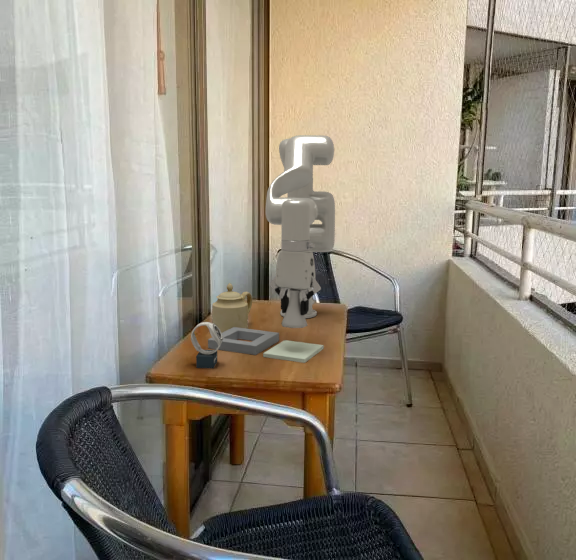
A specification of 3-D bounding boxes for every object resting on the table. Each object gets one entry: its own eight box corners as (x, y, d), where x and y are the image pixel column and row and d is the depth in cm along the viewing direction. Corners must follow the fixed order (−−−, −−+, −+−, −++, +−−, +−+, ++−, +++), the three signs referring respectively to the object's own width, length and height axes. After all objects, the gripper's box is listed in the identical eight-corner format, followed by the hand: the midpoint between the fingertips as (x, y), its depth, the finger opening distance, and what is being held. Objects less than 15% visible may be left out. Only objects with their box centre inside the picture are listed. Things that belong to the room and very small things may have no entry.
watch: (221, 368, 148) (220, 326, 146) (189, 367, 149) (188, 325, 147) (224, 361, 154) (224, 320, 152) (194, 360, 154) (193, 319, 152)
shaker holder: (234, 335, 179) (234, 327, 179) (279, 341, 173) (279, 332, 173) (208, 348, 166) (207, 339, 165) (255, 355, 160) (255, 346, 159)
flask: (305, 329, 156) (305, 292, 155) (278, 328, 158) (278, 291, 156) (309, 323, 163) (310, 287, 162) (284, 321, 165) (284, 286, 163)
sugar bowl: (220, 322, 195) (219, 277, 192) (253, 323, 193) (253, 278, 191) (208, 334, 180) (207, 285, 178) (244, 335, 179) (243, 286, 176)
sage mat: (284, 343, 171) (284, 340, 171) (323, 348, 166) (323, 345, 166) (263, 356, 158) (263, 353, 158) (304, 362, 153) (304, 359, 153)
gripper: (330, 246, 157) (328, 313, 160) (272, 243, 164) (272, 307, 167) (320, 249, 150) (319, 319, 153) (260, 246, 157) (260, 313, 160)
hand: (294, 312), depth 160 cm, fingers closed on flask, 4 cm apart
